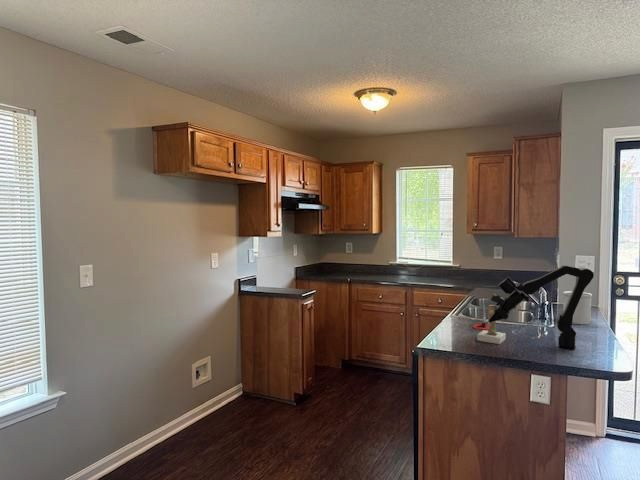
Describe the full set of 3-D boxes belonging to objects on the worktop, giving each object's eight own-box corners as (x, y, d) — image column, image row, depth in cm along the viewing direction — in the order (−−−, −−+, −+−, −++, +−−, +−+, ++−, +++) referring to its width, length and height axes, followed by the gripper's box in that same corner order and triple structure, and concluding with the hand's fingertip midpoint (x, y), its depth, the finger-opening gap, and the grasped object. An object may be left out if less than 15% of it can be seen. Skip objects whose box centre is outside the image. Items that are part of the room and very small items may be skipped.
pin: (497, 337, 219) (497, 305, 219) (492, 338, 218) (492, 306, 217) (491, 335, 222) (491, 304, 222) (486, 336, 221) (486, 305, 220)
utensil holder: (564, 318, 270) (564, 290, 269) (592, 321, 261) (592, 292, 260) (560, 322, 258) (561, 293, 257) (590, 326, 249) (591, 296, 248)
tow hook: (485, 331, 238) (492, 327, 245) (485, 308, 237) (491, 305, 244) (470, 329, 244) (477, 325, 251) (470, 306, 243) (477, 303, 250)
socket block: (505, 339, 221) (505, 333, 221) (500, 344, 212) (500, 338, 212) (483, 335, 228) (483, 330, 228) (477, 340, 219) (477, 334, 219)
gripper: (500, 286, 226) (477, 305, 231) (501, 291, 209) (476, 312, 213) (516, 302, 223) (493, 321, 228) (518, 309, 206) (493, 329, 211)
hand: (489, 320), depth 220 cm, fingers closed on pin, 4 cm apart
